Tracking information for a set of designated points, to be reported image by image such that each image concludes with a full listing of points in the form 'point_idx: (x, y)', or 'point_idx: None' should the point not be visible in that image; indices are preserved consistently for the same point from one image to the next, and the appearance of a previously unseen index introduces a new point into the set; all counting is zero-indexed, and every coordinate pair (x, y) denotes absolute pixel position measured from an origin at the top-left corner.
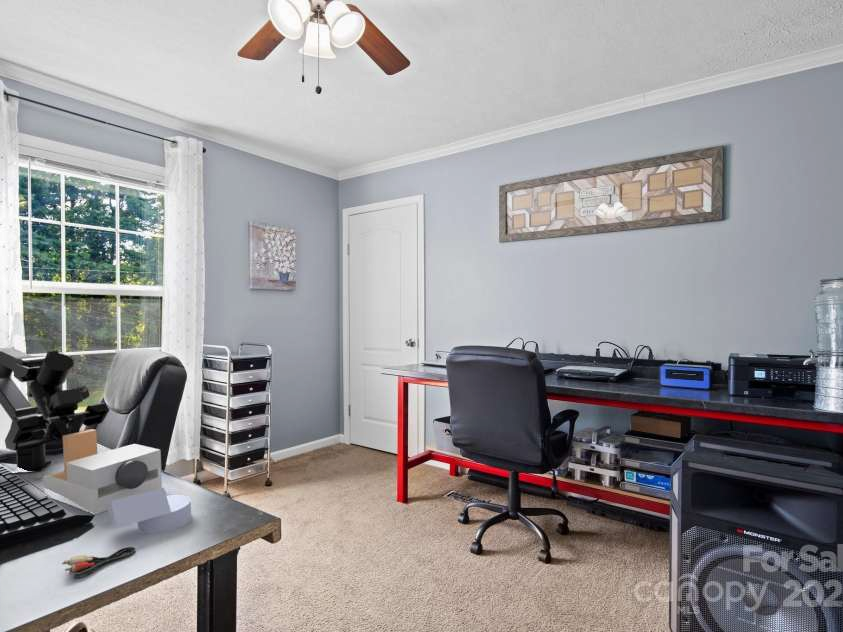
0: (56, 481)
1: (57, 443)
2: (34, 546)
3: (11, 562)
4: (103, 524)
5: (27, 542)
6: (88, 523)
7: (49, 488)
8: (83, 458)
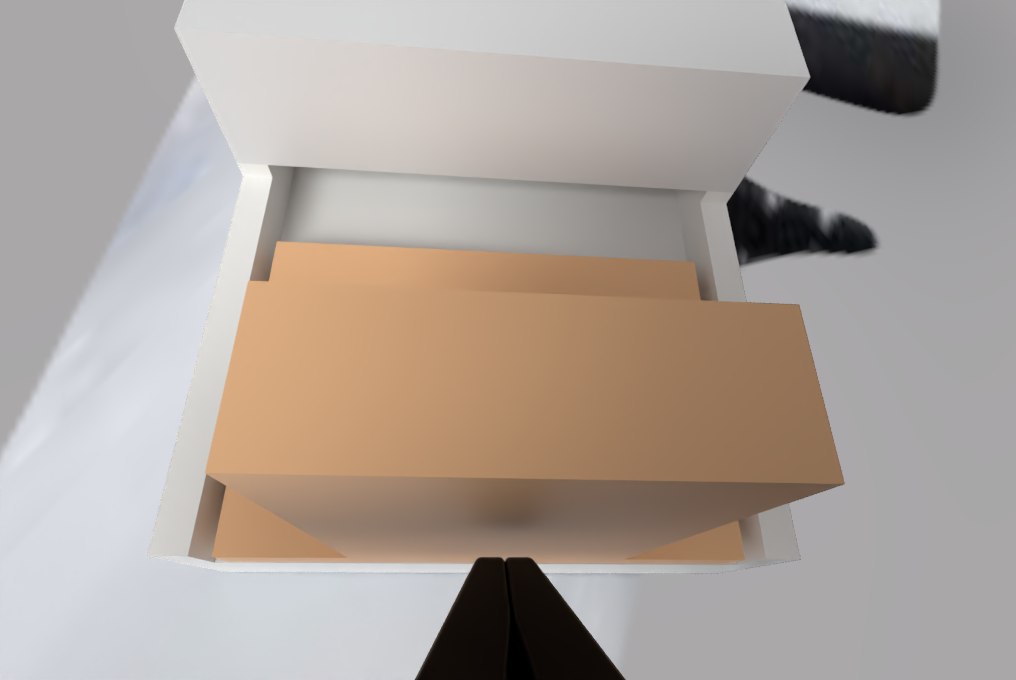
0: None
1: None
2: (865, 55)
3: (929, 26)
4: None
5: (879, 96)
6: None
7: None
8: (679, 53)
